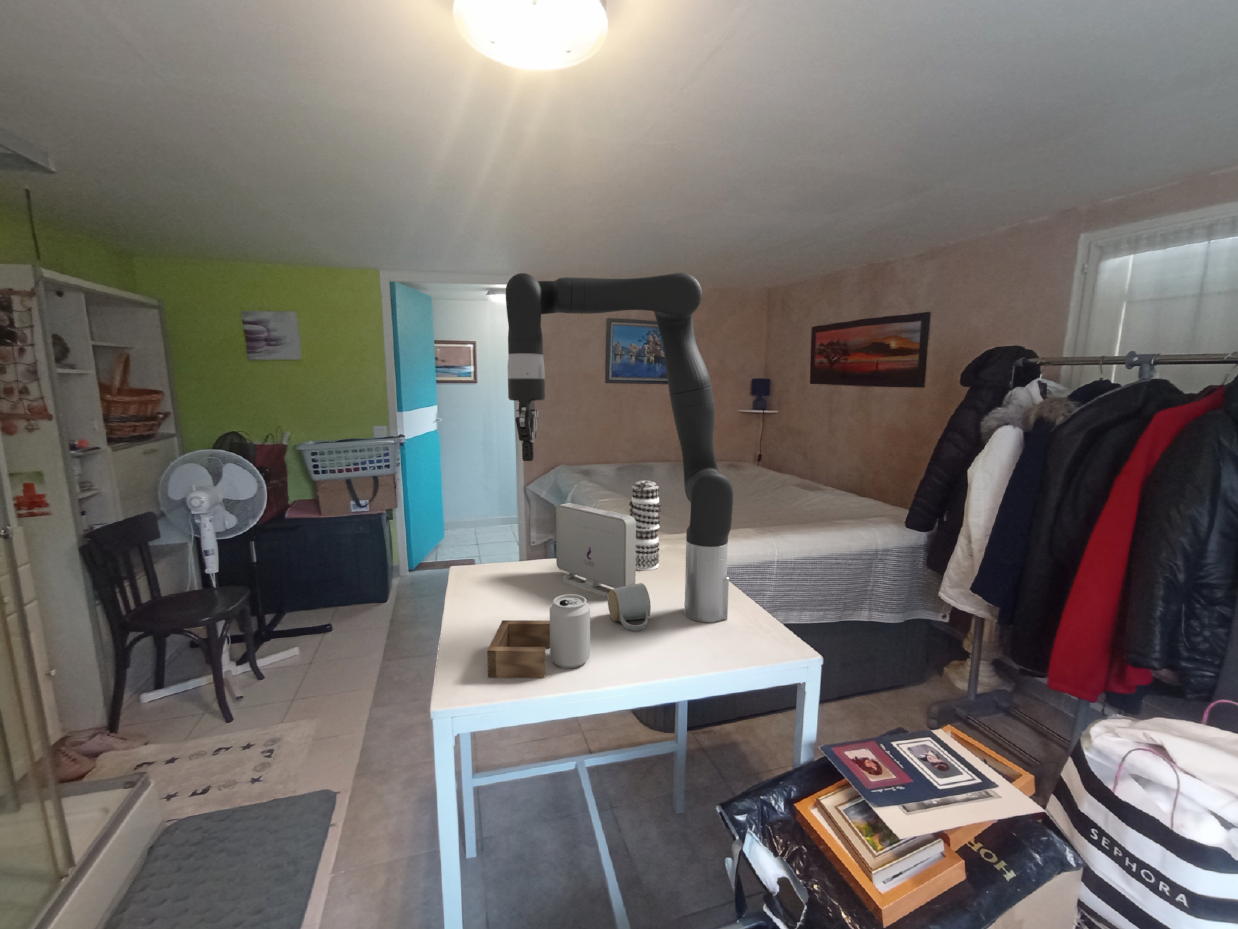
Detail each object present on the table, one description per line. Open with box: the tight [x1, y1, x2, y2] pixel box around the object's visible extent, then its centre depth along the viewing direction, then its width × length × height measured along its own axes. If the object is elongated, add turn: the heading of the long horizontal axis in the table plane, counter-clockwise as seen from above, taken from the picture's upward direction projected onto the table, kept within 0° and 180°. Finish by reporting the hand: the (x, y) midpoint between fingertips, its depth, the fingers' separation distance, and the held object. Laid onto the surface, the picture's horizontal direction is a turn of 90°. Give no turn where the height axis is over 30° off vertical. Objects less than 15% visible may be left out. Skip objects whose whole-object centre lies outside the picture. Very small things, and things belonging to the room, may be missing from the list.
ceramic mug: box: [607, 582, 652, 632], centre depth 115 cm, size 11×8×8 cm
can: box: [549, 593, 591, 669], centre depth 98 cm, size 8×8×12 cm
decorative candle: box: [629, 479, 662, 572], centre depth 152 cm, size 9×9×25 cm
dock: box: [486, 619, 550, 679], centre depth 98 cm, size 10×12×5 cm
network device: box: [555, 502, 637, 597], centre depth 137 cm, size 26×9×20 cm, turn 48°
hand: (528, 460), depth 110 cm, fingers closed
